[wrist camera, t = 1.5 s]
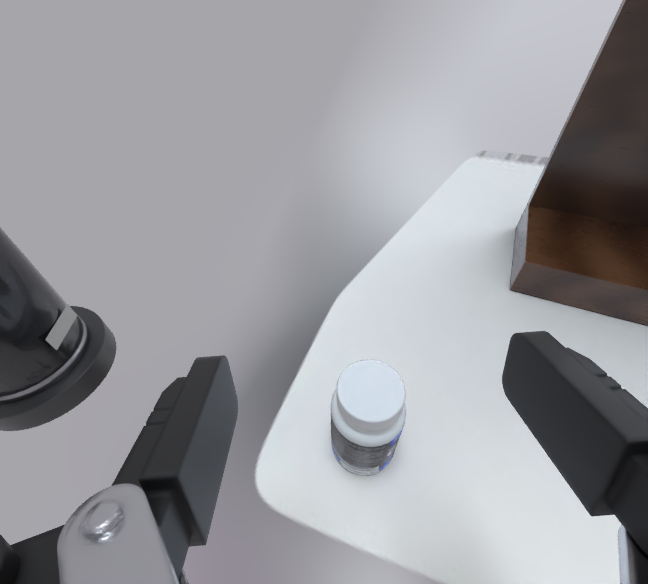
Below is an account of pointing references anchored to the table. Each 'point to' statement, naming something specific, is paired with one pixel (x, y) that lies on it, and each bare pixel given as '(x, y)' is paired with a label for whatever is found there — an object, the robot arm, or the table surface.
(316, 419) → the table surface
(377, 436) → the pill bottle
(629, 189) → the shelf
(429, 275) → the table surface
